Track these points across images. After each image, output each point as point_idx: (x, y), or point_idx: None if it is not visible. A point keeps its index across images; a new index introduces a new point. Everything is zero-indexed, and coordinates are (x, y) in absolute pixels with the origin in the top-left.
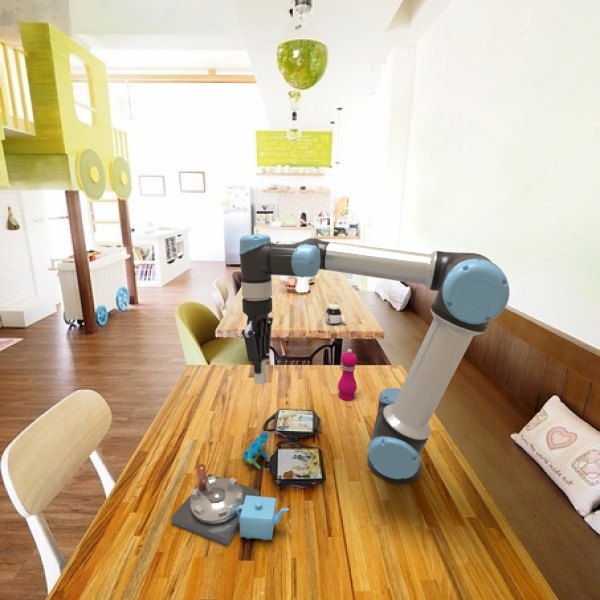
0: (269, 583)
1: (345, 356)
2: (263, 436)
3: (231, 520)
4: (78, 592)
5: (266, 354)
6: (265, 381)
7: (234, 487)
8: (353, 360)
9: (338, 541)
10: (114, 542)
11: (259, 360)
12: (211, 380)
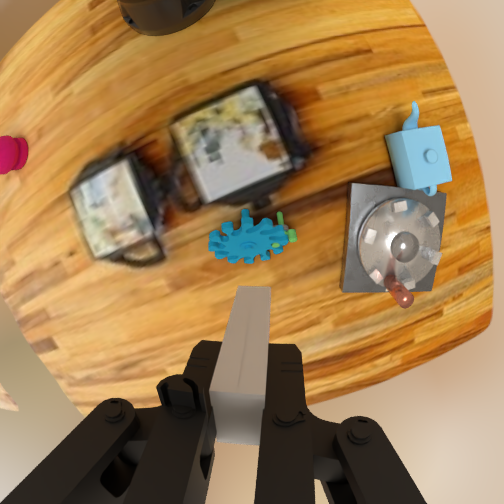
0: (458, 119)
1: None
2: (229, 235)
3: (421, 202)
4: (491, 311)
5: (162, 416)
6: (245, 290)
7: (376, 227)
8: None
9: (373, 39)
10: (451, 326)
11: (309, 426)
12: (102, 397)
